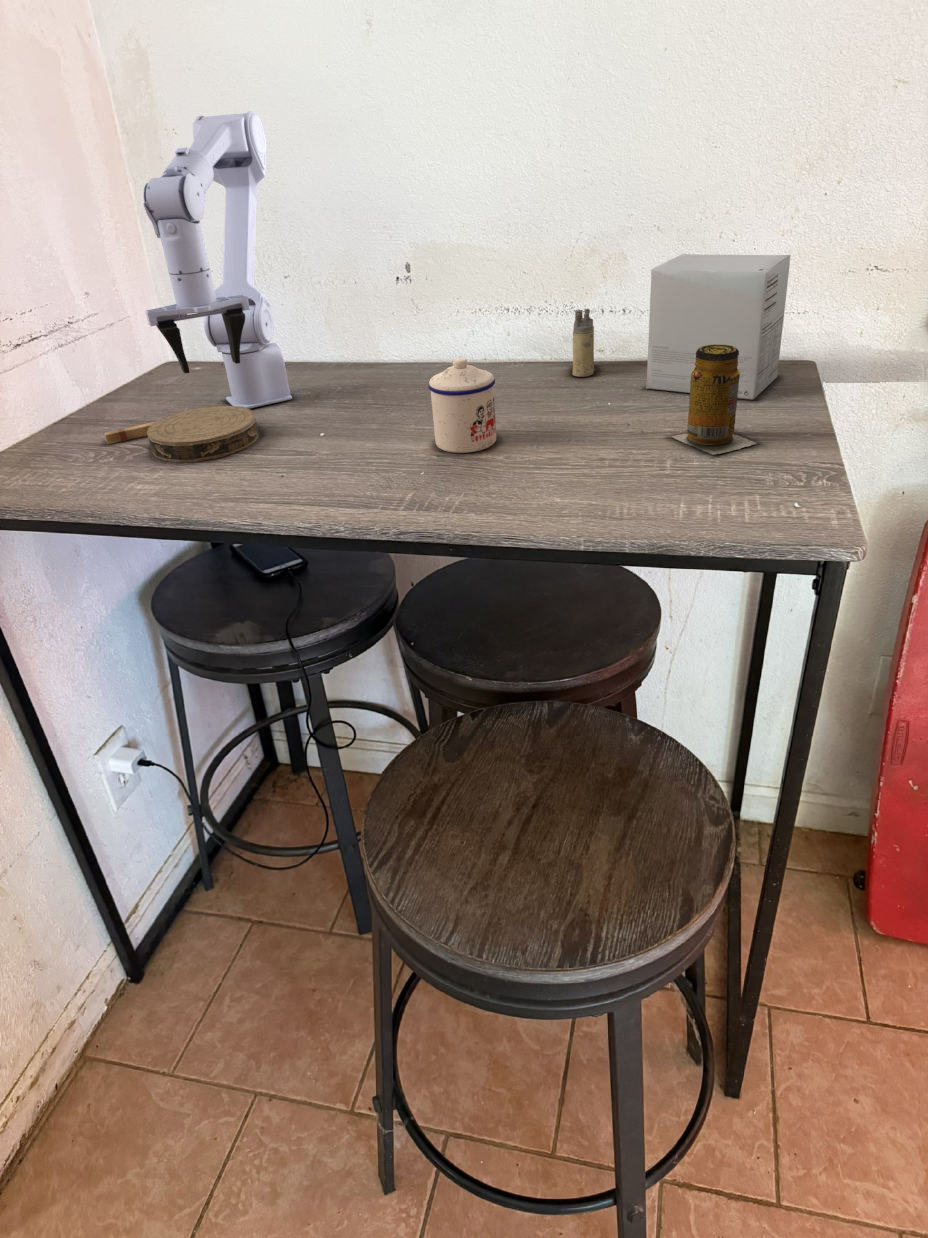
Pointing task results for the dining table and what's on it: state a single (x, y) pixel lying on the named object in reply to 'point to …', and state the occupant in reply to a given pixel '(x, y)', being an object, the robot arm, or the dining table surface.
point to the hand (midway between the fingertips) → (211, 366)
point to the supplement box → (717, 317)
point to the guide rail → (127, 433)
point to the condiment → (714, 401)
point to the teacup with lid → (463, 408)
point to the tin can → (203, 433)
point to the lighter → (583, 344)
